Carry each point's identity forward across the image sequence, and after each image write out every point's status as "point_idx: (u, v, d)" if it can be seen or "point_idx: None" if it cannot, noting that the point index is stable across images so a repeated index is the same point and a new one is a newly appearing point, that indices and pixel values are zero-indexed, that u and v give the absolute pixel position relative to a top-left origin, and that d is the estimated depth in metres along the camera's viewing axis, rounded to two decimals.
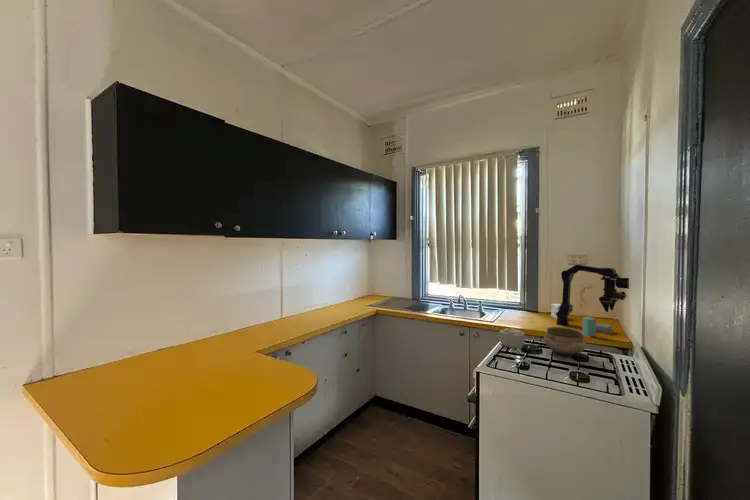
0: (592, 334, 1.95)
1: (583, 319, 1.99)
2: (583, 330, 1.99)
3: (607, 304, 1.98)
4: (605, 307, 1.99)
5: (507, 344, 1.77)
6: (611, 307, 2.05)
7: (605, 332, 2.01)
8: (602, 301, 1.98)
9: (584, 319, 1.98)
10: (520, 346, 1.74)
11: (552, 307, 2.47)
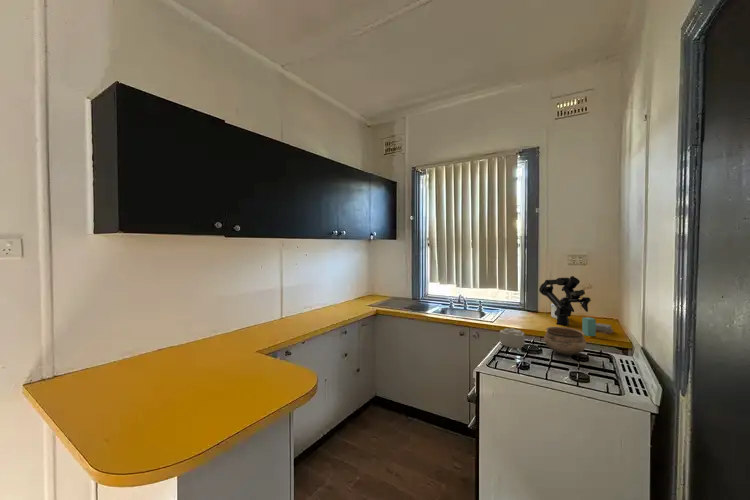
0: (592, 334, 1.95)
1: (583, 319, 1.99)
2: (583, 330, 1.99)
3: (568, 304, 2.08)
4: (570, 308, 2.08)
5: (507, 344, 1.77)
6: (585, 309, 2.07)
7: (605, 332, 2.01)
8: (563, 304, 2.11)
9: (584, 319, 1.98)
10: (520, 346, 1.74)
11: (552, 307, 2.47)
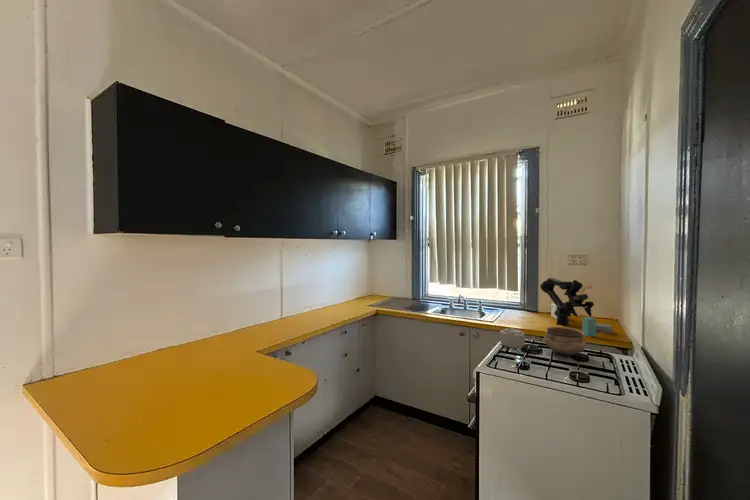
0: (592, 334, 1.95)
1: (583, 319, 1.99)
2: (583, 330, 1.99)
3: (571, 309, 2.05)
4: (573, 313, 2.05)
5: (507, 344, 1.77)
6: (589, 314, 2.04)
7: (605, 332, 2.01)
8: (566, 308, 2.08)
9: (584, 319, 1.98)
10: (520, 346, 1.74)
11: (552, 307, 2.47)
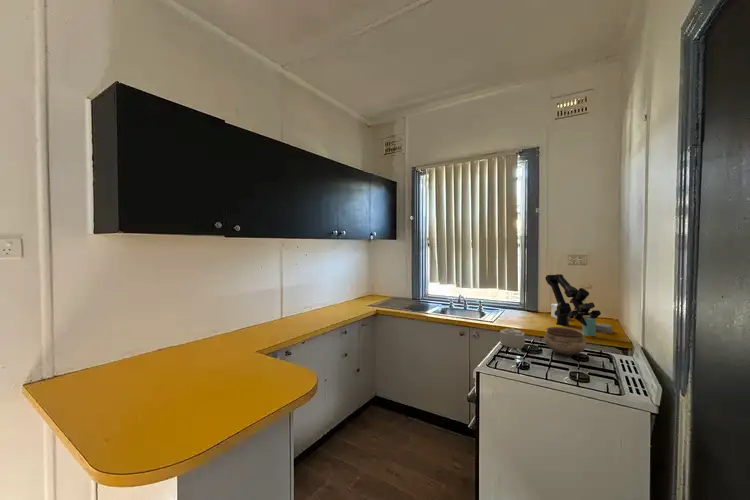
0: (592, 334, 1.95)
1: None
2: (583, 330, 1.99)
3: (580, 318, 1.99)
4: (582, 322, 1.99)
5: (507, 344, 1.77)
6: None
7: (605, 332, 2.01)
8: (575, 317, 2.02)
9: (584, 319, 1.98)
10: (521, 346, 1.74)
11: (552, 307, 2.47)
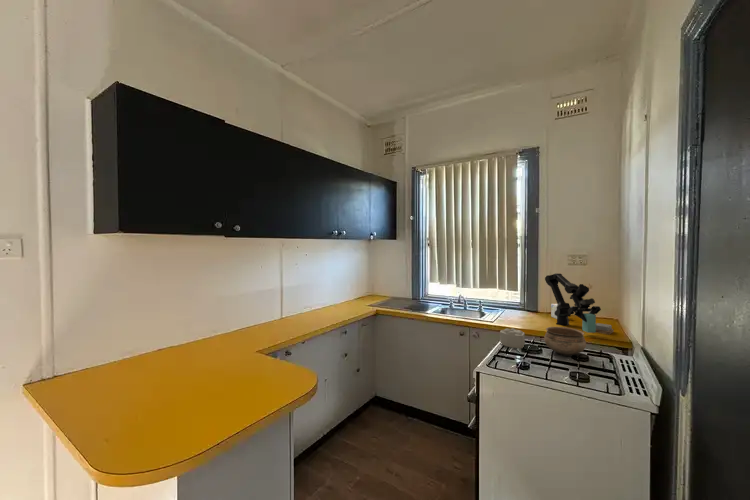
0: (592, 330, 1.95)
1: None
2: (583, 326, 1.99)
3: (580, 314, 1.99)
4: (582, 318, 1.99)
5: (508, 344, 1.77)
6: None
7: (605, 332, 2.01)
8: (575, 313, 2.02)
9: (584, 315, 1.98)
10: (521, 346, 1.74)
11: (552, 307, 2.47)
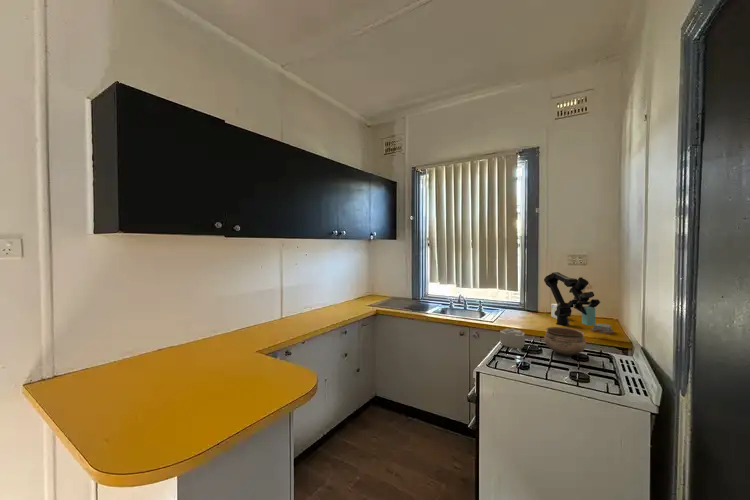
0: (592, 323, 1.96)
1: None
2: (583, 319, 2.00)
3: (580, 307, 2.00)
4: (581, 311, 1.99)
5: (508, 344, 1.77)
6: None
7: (605, 332, 2.01)
8: None
9: (584, 308, 1.99)
10: (521, 346, 1.74)
11: (552, 307, 2.47)
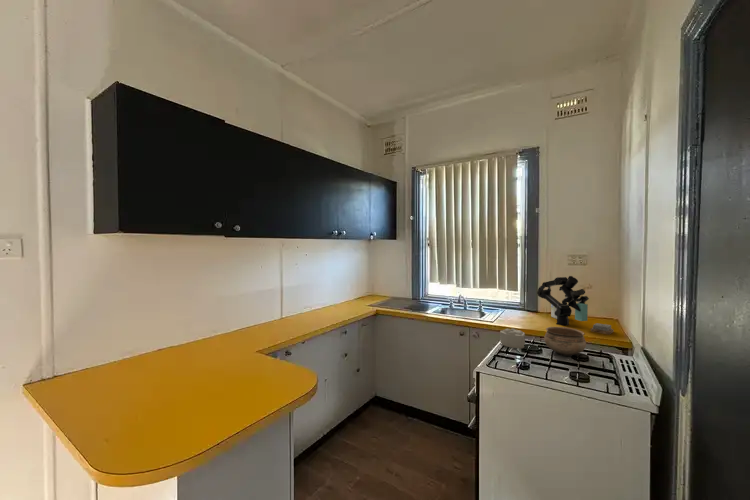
0: (585, 318, 2.08)
1: None
2: (576, 315, 2.11)
3: (574, 304, 2.10)
4: (575, 307, 2.10)
5: (508, 344, 1.77)
6: None
7: (605, 332, 2.01)
8: (568, 303, 2.12)
9: None
10: (521, 346, 1.74)
11: (552, 307, 2.47)
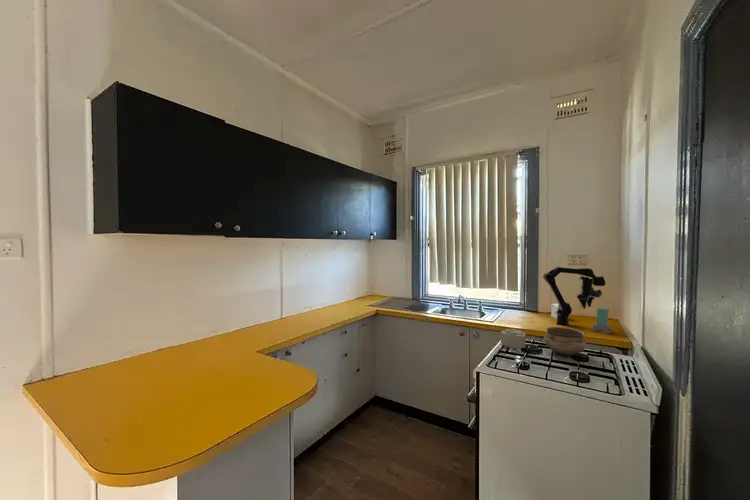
0: (606, 323, 2.05)
1: (599, 310, 2.05)
2: (598, 320, 2.06)
3: (584, 301, 2.17)
4: (583, 304, 2.18)
5: (509, 345, 1.76)
6: (589, 304, 2.24)
7: (605, 332, 2.01)
8: (580, 298, 2.17)
9: (600, 310, 2.04)
10: (522, 347, 1.73)
11: (552, 307, 2.47)
